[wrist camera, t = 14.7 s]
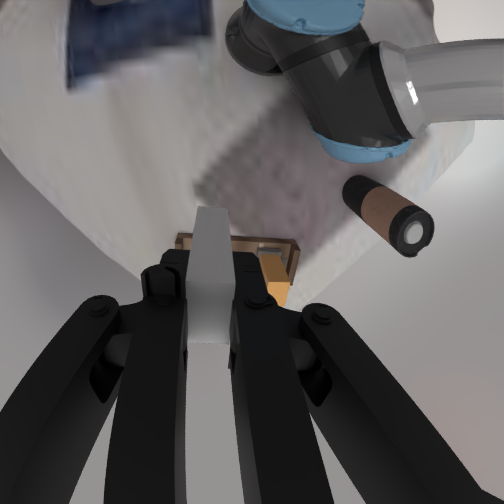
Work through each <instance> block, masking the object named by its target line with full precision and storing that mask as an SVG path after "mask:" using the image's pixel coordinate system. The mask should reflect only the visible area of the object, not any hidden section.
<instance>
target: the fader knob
mask: <svg viewBox="0 0 504 504" xmlns="http://www.w3.org/2000/svg"><path fill="white" fill-rule="evenodd" d="M281 254H282V252H281V250H280V249H275V248H257V255H256V256H257V257H258V258H259V261H260V264H261V268H262V273H263V275H264V279H265V283H266V286H267V290H268V293H269V294H271V295H272V296H273V297H274V298H275V299H276V301H277V303H278V305H279V306H285V302H286V298H287V294H288V290H289V286H290V280H289V278H288V275H287V273H286V270H285V268H284V265H283V263H282V260H281Z"/></svg>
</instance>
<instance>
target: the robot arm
mask: <svg viewBox="0 0 504 504" xmlns="http://www.w3.org/2000/svg"><path fill="white" fill-rule="evenodd" d="M364 6H365V3H364V0H244V2H243V6H242V7H241V8H239V9H238V10H237V11H236V12H235V13H234V14H233V15H232V16H231V18H230V20H229V21H228V24H227V27H226V34H225V41H226V46H227V49H228V51H229V53H230V54H231V56H232V57H233V59H234V60H235V61H236V62H237V63H238V64H240V65H241V66H242V67H244V68H245V69H247V70H249V71H251V72H254V73H256V74H260V75H265V76H280V75H284V76H285V77H286V79H287V81H288V83H289V84H290V86H291V88H292V90H293V91H294V93H295V95H296V97H297V98H298V100H299V102H300V104H301V106H302V108H303V109H304V111H305V113H306V115H307V117H308V119H309V121H310V126H311V129H312V131H313V132H314V133H315V135H317V137H318V139H319V140H320V142H321V144H322V146H323V148H324V149H325V151H326V152H327V153H328V154H329V155H331V156H332V157H333V158H336V159H338V160H341V161H344V162H349V163H374V162H380V161H384V160H385V159H386V158H387V157H390V158H394V157H397V156H399V155H401V154H403V153H404V152H405V151H406V150H408V148H409V146H410V144H411V140H412V139H414V138H420V137H421V136H422V135H423V133H424V131H425V130H426V128H427V126H428V125H430V124H431V123H438V122H450V121H466V120H504V39H476V40H464V41H454V42H446V43H439V44H432V45H426V46H421V47H416V48H411V49H402V48H400V47H398V46H396V45H394V44H392V43H390V42H388V41H382V42H378V43H374V44H372V43H371V41H370V39H369V38H368V36H367V34H366V32H365V30H364V29H363V27H362V25H361V23H360V20H361V19H362V16H363V14H364V12H363V8H364ZM141 282H142V290H143V300H142V301H140V302H137V303H134V304H129V305H122V306H119V304H118V302H117V301H116V299H115V298H113V297H111V296H106V295H98V296H93V297H91V298H88V299H87V300H86V301H84V302H83V303H82V304H81V305H80V306H79V308H78V309H77V310H76V311H75V312H74V313H73V315H72V316H71V317H70V318H69V319H68V321H67V322H66V323H65V324H64V325H63V326H62V328H61V329H60V330H59V331H58V333H57V334H56V335H55V336H54V337H53V339H52V340H51V341H50V342H49V344H48V345H47V346H46V348H45V349H44V350H43V351H42V353H41V354H40V355H39V357H38V358H37V359H36V361H35V362H34V363H33V365H32V366H31V367H30V369H29V370H28V371H27V373H26V374H25V376H24V377H23V378H22V380H21V381H20V383H19V384H18V386H17V387H16V389H15V390H14V392H13V393H12V394H11V396H10V397H9V399H8V401H7V402H6V404H5V405H4V407H3V409H2V410H1V412H0V504H69V502H70V499H71V497H72V494H73V492H74V489H75V487H76V485H77V482H78V480H79V477H80V475H81V473H82V470H83V468H84V466H85V463H86V461H87V459H88V457H89V455H90V452H91V450H92V448H93V446H94V443H95V441H96V439H97V437H98V435H99V433H100V431H101V429H102V427H103V424H104V422H105V420H106V418H107V416H108V414H109V412H110V410H111V408H112V406H113V404H114V402H115V400H116V398H117V403H116V408H115V413H114V419H113V425H112V431H111V437H110V444H109V451H108V459H107V467H106V478H105V488H104V504H187V500H186V472H185V409H186V407H185V406H186V378H187V358H188V351H187V341H188V343H203V344H229V341H230V354H229V364H228V369H229V368H230V370H231V382H232V393H233V405H234V415H235V425H236V435H237V444H238V453H239V463H240V470H241V479H242V487H243V495H244V503H245V504H334V500H333V497H332V493H331V489H330V486H329V482H328V478H327V475H326V471H325V467H324V464H323V460H322V457H321V453H320V449H319V446H318V442H317V439H316V435H315V431H314V428H313V424H312V421H311V417H310V414H311V416H312V418H313V419H314V421H315V423H316V424H317V426H318V428H319V429H320V431H321V433H322V434H323V436H324V437H325V439H326V441H327V442H328V444H329V446H330V447H331V449H332V451H333V452H334V454H335V456H336V457H337V459H338V460H339V462H340V464H341V465H342V467H343V468H344V470H345V472H346V473H347V475H348V476H349V478H350V479H351V481H352V482H353V484H354V486H355V487H356V489H357V490H358V492H359V493H360V495H361V496H362V498H363V500H364V501H365V503H366V504H504V501H503V500H501V499H499V498H497V497H495V496H493V495H491V494H489V493H488V492H485V491H484V490H481V488H480V487H479V485H478V484H477V483H476V481H475V480H474V479H473V477H472V476H471V475H470V473H469V472H468V470H467V469H466V468H465V466H464V465H463V464H462V462H461V461H460V460H459V458H458V457H457V456H456V454H455V453H454V452H453V451H452V449H451V448H450V447H449V445H448V444H447V443H446V441H445V440H444V439H443V438H442V436H441V435H440V434H439V432H438V431H437V430H436V429H435V427H434V426H433V425H432V424H431V422H430V421H429V420H428V419H427V417H426V416H425V415H424V414H423V412H422V411H421V410H420V409H419V407H418V406H417V405H416V404H415V402H414V401H413V400H412V399H411V397H410V396H409V395H408V394H407V393H406V391H405V390H404V389H403V388H402V386H401V385H400V384H399V383H398V382H397V380H396V379H395V378H394V377H393V376H392V375H391V373H390V372H389V371H388V370H387V368H386V367H385V366H384V365H383V364H382V362H381V361H380V360H379V359H378V358H377V357H376V355H375V354H374V353H373V352H372V350H371V349H369V347H368V346H367V345H366V343H365V342H364V341H363V340H362V339H361V338H360V336H359V335H358V334H357V333H356V332H355V331H354V329H353V328H352V327H351V326H350V325H349V324H348V323H347V321H346V320H345V319H344V318H343V317H342V316H341V315H340V313H339V312H338V311H337V310H335V309H334V308H332V307H331V306H328V305H326V304H321V303H311V304H309V305H306V306H305V307H304V308H303V310H302V312H297V311H293V310H289V309H285V308H283V307H281V306H279V305H278V303H277V301H276V299H275V298H274V297H273V296H272V295H271V294H269V293H268V290H267V286H266V283H265V279H264V275H263V273H262V268H261V264H260V261H259V258H258V257H257V256H256V255H255V254H254V253H253V252H238V251H232V247H231V238H230V228H229V219H228V209H227V208H219V207H201V206H198V210H197V215H196V221H195V226H194V232H193V237H192V243H191V249H190V250H182V249H169V250H167V251H166V252H165V253H164V254H163V255H162V258H161V261H160V264H157V265H153V266H150V267H148V268H147V269H145V270H144V271H143V272H142V273H141ZM117 396H118V397H117ZM309 412H310V414H309Z"/></svg>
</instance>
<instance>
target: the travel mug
mask: <svg viewBox="0 0 504 504" xmlns="http://www.w3.org/2000/svg"><path fill="white" fill-rule="evenodd" d="M342 195H343V199H344V202H345V203H346V205H347V206H348V207H349V208H350V209H352V210H353V211H354V212H355V213H356V214H357V215H358V216H359V217H360V218H361V219H362V220H363V221H364V222H365V223H366V224H367V225H369V226H370V227H371V228H372V229H373V230H374V231H376V232H377V233H378V234H379V235H380V236H381V237H382V238H384V239H385V240H386V241H387V242H388V243H389V244H390V245H391V246H392V247H394V248H395V249H396V250H397V251H398V252H399V253H400V254H401V255H403V256H405V257H409V258H410V257H415V256H417V254H418V252H419V251H420V250H421V249H422V248H424V247H426V246H428V245H429V244H430V242H431V240H432V237H433V234H434V221H433V218H432V217H431V215H430V214H429V213H428V212H426V211H425V210H423V209H422V208H420V207H419V206H417V205H415V204H414V203H412V202H411V201H409V200H408V199H406V198H404V197H403V196H401V195H399V194H398V193H396V192H394V191H393V190H391V189H389V188H388V187H386V186H384V185H382V184H380V183H377V182H375V181H373V180H371V179H369V178H367V177H364V176H360V175H359V176H354V177H352V178H350V179H349V180H348V181H347V182H346V183H345V185H344V188H343V193H342Z"/></svg>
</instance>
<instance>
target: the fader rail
mask: <svg viewBox="0 0 504 504" xmlns="http://www.w3.org/2000/svg"><path fill="white" fill-rule="evenodd" d="M192 237H193V234H186V233H178V235H177V239H176V242H175V249H182V250H190V249H191V243H192ZM230 238H231V247H232V251H238V252H253V253H254V254H255V255H257V248H275V249H280V250H281V252H282V254H281V260H282V263H283V265H284V268H285V270H286V273H287V275H288V278H289V280H290V285H291V286H292V285H293V281H294V277H295V272H296V268H297V264H298V260H299V256H300V251H301V250H300V249H299V247H298V245H297V243H296V241H295V240H288V239H273V238H257V237H240V236H230Z"/></svg>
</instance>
